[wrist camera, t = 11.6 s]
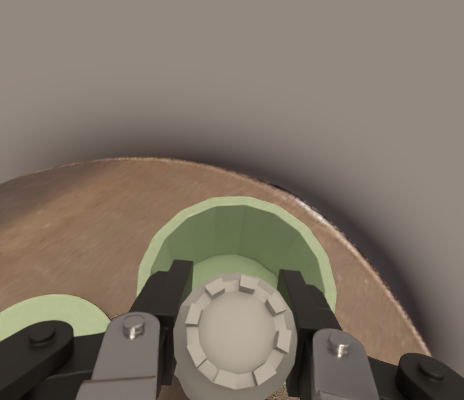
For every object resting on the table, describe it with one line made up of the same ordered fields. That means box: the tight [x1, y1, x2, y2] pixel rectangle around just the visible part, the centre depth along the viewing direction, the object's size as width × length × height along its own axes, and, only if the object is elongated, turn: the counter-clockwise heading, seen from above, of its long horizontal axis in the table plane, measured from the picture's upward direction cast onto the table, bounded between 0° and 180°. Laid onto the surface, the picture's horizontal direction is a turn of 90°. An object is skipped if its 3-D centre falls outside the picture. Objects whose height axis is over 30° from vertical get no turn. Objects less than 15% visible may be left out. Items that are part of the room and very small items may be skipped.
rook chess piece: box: [173, 272, 297, 400], centre depth 11 cm, size 4×4×8 cm
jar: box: [136, 196, 337, 387], centre depth 24 cm, size 13×13×10 cm
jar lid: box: [0, 294, 111, 341], centre depth 22 cm, size 14×14×6 cm
